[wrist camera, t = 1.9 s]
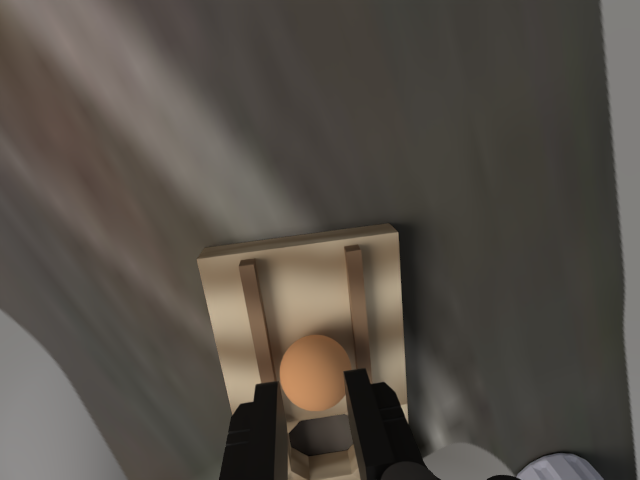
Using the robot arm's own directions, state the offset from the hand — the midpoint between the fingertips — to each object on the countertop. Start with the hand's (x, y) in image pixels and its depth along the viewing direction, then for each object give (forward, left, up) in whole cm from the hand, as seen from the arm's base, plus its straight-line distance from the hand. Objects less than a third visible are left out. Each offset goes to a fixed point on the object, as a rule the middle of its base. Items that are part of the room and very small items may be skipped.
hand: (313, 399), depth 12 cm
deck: (+12, 0, -17) cm, 21 cm away
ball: (+8, 0, -12) cm, 14 cm away
